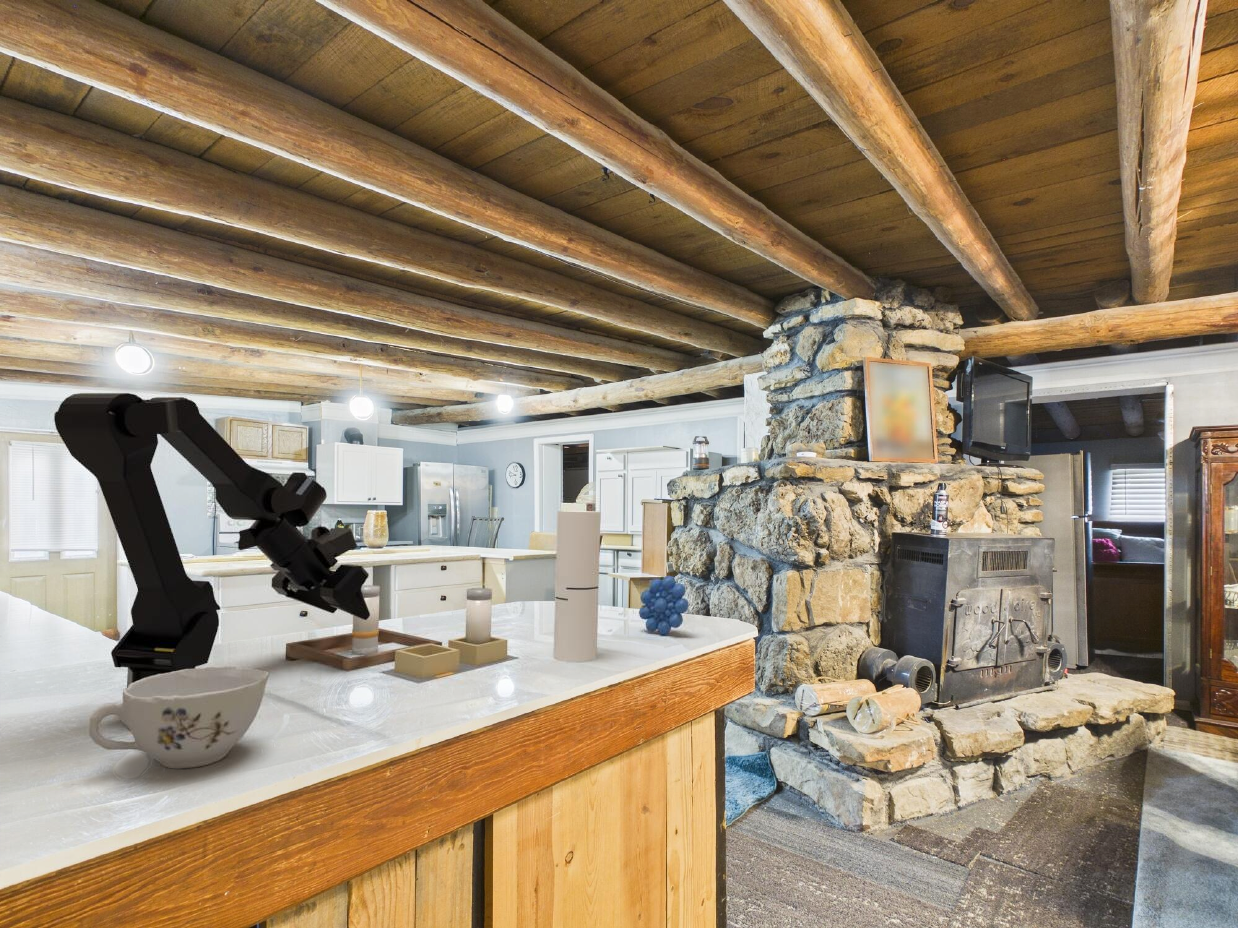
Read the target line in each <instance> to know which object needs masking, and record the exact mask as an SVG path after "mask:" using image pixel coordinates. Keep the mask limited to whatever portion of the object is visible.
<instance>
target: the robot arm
mask: <svg viewBox="0 0 1238 928" xmlns="http://www.w3.org/2000/svg"><path fill="white" fill-rule="evenodd" d="M53 418H54V419H53V421H54V423H55V424H54V426H55V429H56V431H57V433H58V435H59V436H60V438H61V440H62V442H63V444H64V445H65V446H66V449H67V450H68V452H69V453H70V455H71V457H73V459H75V460H76V461H77V462H78V463H79V464H81V465H82V466H83V467H84V468H85V469H86V470H88V471H89V472H90V473H91V474H92V475H93V476H94V477H95V478H96V480H97V482H98V484H99V487H100V490H101V492H102V496H103V497H104V500H105V503H106V506H107V509H108V512H109V514H110V517H111V520H112V523H113V525H114V528H115V530H116V533H117V537H118V539H119V541H120V544H121V548H122V549H123V552H124V556H125V558H126V560H127V563H128V565H129V569H130V572H131V575H132V577H133V580H134V582H135V585H136V587H137V588H136V589H137V593H136V594H135V598H134V600H133V603H132V606H131V609H130V615H131V619H132V625H131V626H130V628H129V629H128V630H127V631H126V632H125V634H124V635H123V636H122V637H121V639H120V640H119V641H118V642H117V644H116V645H115V646H114V648H112V650H111V651H110V654H111V658H112V662H113V665H114V667H115V668H119V669H120V668H127V678H126V679H127V680H126V689H127V688H128V686H129V685H130V684H131V683H134V682H136V681H138V680H141V679H143V678H146V677H150V676H154V675H157V674H164V673H170V672H173V671H179V670H184V669H195V668H198V667H199V666H200V667H201V666H203V665H206V664H208V662H209V660H210V656H211V652H212V651H213V646H214V643H215V640H216V636H217V634H218V631H219V630H218V629H219V626H220V618H219V613H218V611H220V610H221V606H220V604H218V603H217V601H216V598H215V592H214V588H213V586H212V584H211V583H210V581H208V580H193V579H192V578H190V577H189V576H188V575H187V573H186V569H185V566H184V564H183V560H182V558H181V555H180V552H179V551H180V550H179V548H178V545H177V543H176V539H175V536H174V532H173V530H172V527H171V524H170V521H169V518H168V515H167V513H166V510H165V509H166V508H165V506H164V503H163V501H162V498H161V495H160V491H159V489H158V486H157V483H156V479H155V476H154V473H153V470H152V466H151V465H152V462H153V459H154V457H155V453H156V451H157V448H158V445H159V438H158V435H160V437H162V438H163V439H164V440H165V442H167V443H168V444H169V445H170V446H171V447H172V448H174V450H176V451H177V453H179V455H180V456H182V457H183V458H184V459H185V460H186V461H187V462H188V463H189V464H190V465H191V467H193V468H194V469H195V470H196V471H197V472H198V473H199V474H200V475H202V476H203V477H204V478H205V479H206V480H207V481H208V482H209V483H210V484H211V485H212V487H213V488H214V491H215V493H214V494H215V496H214V499H215V500H216V502H217V504H218V506H220V508H221V509H222V510H223V512H224V513H225V514H226V515H227V517H229V518H230V519H232V520H239V521H253V523H252V524H251V526H250V527H249V528H245V529H241V530H239V532H238V535H239V539H238V543H237V550H239V551H243V550H247V549H252V548H256V547H257V548H258V550H260V552H262V553H263V555H264V556H265V557H266V558H267V559H269V560H270V561H271V562H272V563H271V564H269V566H270V568H272V570H273V571H276V573H275V575H274V576H273V577H272V578H271V588H273V590H274V591H275V592H276V593H277V594H278V595H283V596H285V597H286V598H287V599H292V600H295V601H297V602H300V603H303V604H306V605H308V606H312V607H314V608H317V609H319V610H322V611H325V612H328V613H330V614H335V612H336V611H338V610H339V611H342V612H345V613H347V614H350V615H351V616H353V615H354V616H356V617H358V618H361V619H363V620H367V619H368V618H369V616H370V613H369V610H368V608H367V605H366V602H365V600H364V597H363V594H362V591H361V588H362V586H363V585H364V584H365V583H366V580H367V579H368V578H369V576H370V575H369V572H367V570H366V569H365V568H364V566H362V565H357V564H350V563H347V564H344V563H343V564H340V565H338V567H337V569H336V570H331V568H333V567H334V566H336V564H337V563H338V562H339V560H338V559H337V558H338V557H339V556H342V555H343V554H345V553H347V552H349V551H353V550H355V549H357V548H358V544H357V542H356V539H355V536H354V533H353V531H352V528H348V527H335V528H334V527H332V528H330V529H329V528H328V527H326V526H325V525H324V526H321V525H318V526H316V527H314V528H312V529H311V534H310V535H311V536H310V539H309V538H307V537H306V536H305V535H304V534H303V532H301V530H300V529H299V528H300V527H305V526H307V525H308V524H309V523H310V522H311V520H312V519H313V517H314V516H315V514H316V513H317V512H318V511H319V509H320V508H321V506H322V505H323V504H324V502H325V501H326V499H327V496H328V495H327V491H326V489H325V487H323V486H322V485H321V484H319V482H317V481H316V480H314V479H312V478H311V477H308V476H307V474H306V472H295V471H294V472H292V473H291V474H290V476H289V477H288V479H287V480H286V482H285V483H284V485H283V483H282V482H281V481H279V480H278V479H276V478H275V477H274V476H272V475H271V474H270V473H268V472H265V471H263V470H262V469H258V468H256V467H253V466H252V465H250V464H249V463H247V462H246V461H245V460H244V459H243V458H242V457H241V456H240V454H239V453H238V452H237V451H236V450H235V449H234V448H233V447H232V446H231V445H230V444H229V443H228V442H227V440H226V439H225V438H224V437H222V435H220V433H219V432H218V431H217V430H216V429H215V428H214V427H213V425H211V424H210V422H208V421H207V419H205V417H204V416H202V414H201V413H200V409H199V407H198V405H197V403H196V402H194V401H193V400H192V399H188V398H186V397H183V396H181V397H180V396H179V397H176V396H175V397H174V396H173V397H172V396H170V397H169V396H167V397H165V396H164V397H163V396H159V397H157V396H156V397H151V398H149V399H145V398H144V399H143V398H141V397H140V396H138V395H137V394H135V393H129V392H108V393H107V392H90V393H89V392H81V393H79V392H78V393H73V394H71V395H69V396H67V397H66V398H65V399H64V400H63V401H62V402H61V403H60V405H59V407H58V410H57V411H55V413H54V417H53ZM155 648H156V649H170V650H174V651H173V652H167V651H155Z"/></svg>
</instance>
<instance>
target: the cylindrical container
mask: <svg viewBox="0 0 1238 928" xmlns="http://www.w3.org/2000/svg"><path fill="white" fill-rule="evenodd" d="M556 524H557V525H556V528H557V529H556V557H555V560H556V561H555V587H554V588H555V589H554V591H555V593H554V594H555V595H554V596H555V597H554V623H553V624H554V628H553V629H554V630H553V631H554V632H553V659H554V660H556V661H558V662H563V663H574V664H575V663H577V664H578V663H589V662H593V661H595V660H596V659H597V658H598V627H599V625H598V624H599V622H598V620H599V591H600V590H599V584H600V550H601V549H600V546H601V545H600V544H601V543H600V542H601V511H597V510H596V511H595V510H594V511H593V510H557V522H556Z"/></svg>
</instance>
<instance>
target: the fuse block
mask: <svg viewBox="0 0 1238 928" xmlns="http://www.w3.org/2000/svg"><path fill="white" fill-rule="evenodd" d="M447 642H448V646H443V645H442V646H440V645H435V644H427V645H421V646H416V647H411V648H406V649H401V650H396V651H395V661H394V667H393V668H391V669H388V670H383V671H379V673H381V674H384V675H387V676H389V677H390V676H391V677H395V678H398V679H402V680H405V681H408V682H413V683H416V684H422V683H426V682H430V681H434V680H438V679H442V678H447V677H450V676H453V675H458V674H462V673H465V672H469V671H470V672H471V671H473V670H478V669H482V668H486V667H490V666H493V665H499V664H502V663H506V662H509V661H513V660H518V659H520V657H518V656H514V655H510V654H509V655H508V639H505V638H502V637H495V636H492V635H491V642H489V643H485V644H480V645H474V644H470V643H465V636H464V637H459V638H458V637H457V638H453V639H452V638H451V639H448V641H447Z"/></svg>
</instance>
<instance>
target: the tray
mask: <svg viewBox="0 0 1238 928" xmlns="http://www.w3.org/2000/svg"><path fill="white" fill-rule="evenodd" d="M378 629H379V635H378V646H381V645H387V644H393V643H394V644H398V645H402V646H405V647H400V648H396V649H391V650H385V651H378V652H377V653H374V654H369V655H357V656H354V657H347V656H345V655H342V654H339V653H343V652H344V653H345V652H349V651H352V632H350V633H342V634H336V635H329V636H324V637H318V638H317V637H316V638H311V639H307V640H305V639H304V640H299V641H294V642H293V641H292V642H288V643H286V644H285V655H284V656H285V660H287V661H291V662H295V661H300V660H308V661H311V662H313V663H318V664H320V665H325V666H328V667H331V668H334V669H339V670H341V671H345V672H351V671H357V670H361V669H364V668H370V667H374V666H379V665H384V664H390V663H395V651H396V650H401V649H406V648H411V647H416V646H421V645H427V644H435V645H440V646H443V641H439V640H434V639H429V638H426V637H420V636H417V635H416V636H415V635H412V634H409V633H408V634H406V633H403V632H397V631H393V630H388V629H383V628H378Z"/></svg>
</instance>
